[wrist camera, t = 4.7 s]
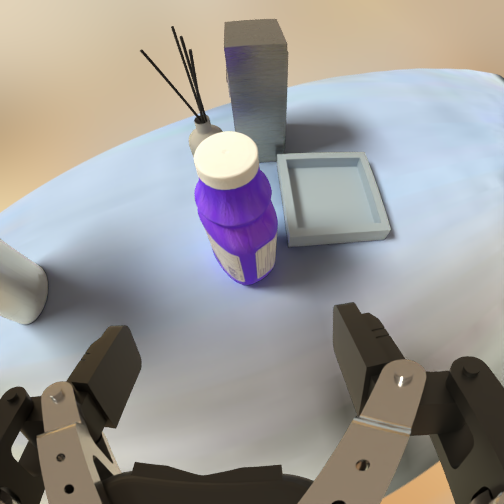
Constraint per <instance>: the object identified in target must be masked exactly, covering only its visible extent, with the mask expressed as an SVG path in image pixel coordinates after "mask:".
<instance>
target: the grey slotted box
mask: <svg viewBox="0 0 504 504" xmlns="http://www.w3.org/2000/svg"><path fill="white" fill-rule="evenodd" d="M224 51H225V58H226V68H227V69H226V79H227V82H228V88H229V96H230V97H231V104H232V111H233V119H234V126H235V132H238V133H242V134H244V135H246V136H248V137H250V138H251V139H252V140H253V141H254V142H255V144H256V146H257V148H258V160H259V162H273V161H277V154H284V149H285V133H286V109H287V78H288V51H287V42H286V40H285V38H284V36H283V33H282V30H281V28H280V26H279V24H278V22H277V19H260V20H244V21H232V22H225V30H224Z"/></svg>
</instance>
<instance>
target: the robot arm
mask: <svg viewBox="0 0 504 504" xmlns="http://www.w3.org/2000/svg"><path fill="white" fill-rule="evenodd" d="M47 294H48V280H47V276H46V274H45V272H44V270H43V269H42V268H41V267H40V266H39V265H37V264H36V263H34V262H33V261H31V260H30V259H28V258H27V257H25V256H24V255H22V254H21V253H20V252H18V251H17V250H15V249H14V248H12V247H11V246H10V245H8V244H7V243H5V242H4V241H3V240H1V239H0V316H2V317H4V318H7V319H9V320H12V321H15V322H17V323H20V324H29V323H31V322H33V321H34V320H35V319H36V318H37V317H38V316H39V315H40V313H41V312H42V310H43V308H44V305H45V302H46V299H47ZM333 347H334V352H335V355H336V358H337V361H338V363H339V366H340V369H341V371H342V374H343V377H344V380H345V382H346V385H347V388H348V391H349V393H350V396H351V399H352V402H353V405H354V407H355V410H356V413H357V416H358V417H357V416H356V417H355V418H354V419H353V421H352V422H351V424H350V426H349V427H348V429H347V431H346V433H345V434H344V436H343V438H342V439H341V441H340V443H339V444H338V446H337V447H336V449H335V451H334V452H333V454H332V455H331V457H330V459H329V460H328V462H327V463H326V465H325V466H324V468H323V469H322V471H321V472H320V473H319V475H318V476H317V478H316V479H315V481H312V480H310V479H307V478H304V477H300V476H295V475H290V474H283V473H282V466H281V465H273V466H261V467H243V468H238V469H234V470H230V471H225V472H221V473H216V474H210V475H204V476H203V475H197V474H193V473H189V472H186V471H182V470H179V469H176V468H173V467H169V466H164V465H155V464H146V463H139V462H135V463H134V467H133V470H132V471H129V472H123V473H122V472H121V470H120V469H119V467H118V464H117V462H116V460H115V458H114V455H113V453H112V451H111V448H110V446H109V443H108V441H107V438H106V436H105V434H104V433H103V432H102V431H103V429H104V427H109V428H116V427H117V425H118V422H119V420H120V418H121V415H122V413H123V410H124V408H125V405H126V403H127V401H128V398H129V396H130V393H131V391H132V389H133V386H134V384H135V382H136V379H137V377H138V375H139V373H140V370H141V357H140V354H139V351H138V349H137V346H136V344H135V341H134V339H133V336H132V334H131V331H130V329H129V327H128V326H126V325H121V326H109V327H108V328H107V329H106V331H105V332H104V334H103V335H102V337H101V338H99V339H98V340H97V341H95V342H94V343H93V344H92V345H91V346H90V347H89V349H88V350H87V351H86V354H84V356H83V357H82V359H81V361H80V362H79V363H78V365H77V366H76V367H75V369H74V370H73V372H72V373H71V375H70V376H69V378H68V379H67V381H66V382H63V381H62V382H56V383H54V384H52V385H50V386H49V387H47V388H46V389H45V391H44V392H43V394H42V396H38V397H30V396H29V395H28V393H27V392H26V390H25V389H24V388H23V387H14V388H11V389H9V390H8V391H7V392H6V393H5V394H4V395H3V396H2V398H1V399H0V504H40V501H41V498H42V495H43V493H44V490H46V495H47V499H48V503H49V504H380V502H381V501H382V499H383V497H384V495H385V493H386V491H387V489H388V487H389V485H390V482H391V480H392V478H393V476H394V474H395V471H396V469H397V467H398V465H399V462H400V460H401V457H402V455H403V452H404V450H405V447H406V445H407V442H408V439H409V436H415V435H430V437H431V439H432V442H433V444H434V447H435V449H436V452H437V454H438V457H439V459H440V462H441V464H442V467H443V470H444V472H445V475H446V478H447V481H448V483H449V486H450V489H451V492H452V495H453V498H454V501H455V504H504V388H503V386H502V385H501V383H500V382H499V381H498V379H497V378H496V377H495V375H494V374H493V373H492V371H491V370H490V369H489V367H488V366H487V365H486V364H485V363H484V362H483V361H482V360H480V359H478V358H475V357H469V356H467V357H461V358H458V359H457V360H455V361H454V362H453V364H452V366H451V368H450V371H441V372H425V370H424V368H423V367H422V366H421V365H420V364H418V363H416V362H414V361H411V360H405V358H404V356H403V355H402V353H401V352H400V350H399V349H398V347H397V346H396V344H395V343H394V341H393V340H392V338H391V337H390V336H389V334H388V332H387V331H386V329H384V326H383V325H382V323H381V322H380V320H379V319H378V318H376V317H375V316H373V315H372V314H370V313H364V314H361V312H360V311H359V309H358V308H357V306H356V304H355V303H354V302H351V303H345V304H339V305H334V308H333ZM20 431H21V432H22V434H23V435H24V436H25V437H26V438H27V439H28V440H29V441H28V443H27V445H26V447H25V449H24V452H23V454H22V456H21V458H20V460H19V462H17V461H16V460H15V459H14V457H13V456H12V453H11V447H12V445H13V443H14V441H15V439H16V437H17V435H18V433H19V432H20Z"/></svg>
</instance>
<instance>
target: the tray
mask: <svg viewBox="0 0 504 504" xmlns="http://www.w3.org/2000/svg"><path fill="white" fill-rule="evenodd" d="M277 170H278V177H279V184H280V190H281V197H282V204H283V211H284V219H285V226H286V234H287V241H288V247H297V246H310V245H322V244H335V243H347V242H360V241H372V240H384V239H385V238H386V236H387V235H388V233H389V232H390V231H391V228H390V225H389V221H388V218H387V215H386V212H385V208H384V205H383V202H382V199H381V196H380V193H379V190H378V187H377V184H376V181H375V179H374V176H373V173H372V170H371V168H370V165H369V162H368V160H367V157H366V155H365V152H320V153H293V154H277Z"/></svg>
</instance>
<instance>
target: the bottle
mask: <svg viewBox="0 0 504 504" xmlns="http://www.w3.org/2000/svg"><path fill="white" fill-rule="evenodd" d="M194 163H195V166H196V170H197V174H198V176H199V181H198V183H197V185H196V188H195V201H196V205H197V207H198V214H199V217H200V220H201V222H202V224H203V225H204V228H205V230H206V233H207V235H208V238H209V240H210V243H211V246H212V249H213V252H214V255H215V257H216V259H217V261H218V263H219V264H220V266H221V267H222V268H223V270H224V271H225V272H226V273H227V274H228V275H229V276H230V277H231V278H232V279H233V280H234V281H236V282H238V283H240V284H243V285H250V284H254V283H256V282H257V281H260V280H262V279H263V278H264V277H266V276H267V275H268V273H269V272H270V271H271V270H272V269H273V267H274V264H275V256H276V241H277V226H278V220H277V216H276V212H275V209H274V206H273V204H272V202H271V200H270V199H271V195H272V190H271V187H270V183H269V181H268V179H267V177H266V176H265V174H264V173H263V172H262V171H261V170H260V168H259V160H258V148H257V146H256V144H255V142H254V141H253V140H252V139H251V138H250V137H248V136H246V135H244V134H242V133H238V132H220V133H217V134H214V135H211V136H210V137H208V138H206V139H205V140H203V141H202V142H201V143H200V144H199V146H198V147H197V149H196V151H195V154H194Z"/></svg>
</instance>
